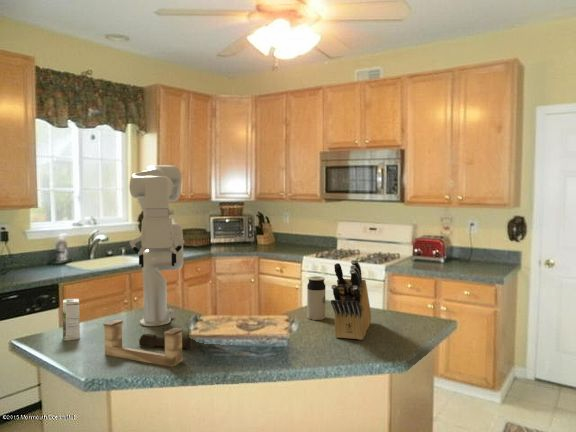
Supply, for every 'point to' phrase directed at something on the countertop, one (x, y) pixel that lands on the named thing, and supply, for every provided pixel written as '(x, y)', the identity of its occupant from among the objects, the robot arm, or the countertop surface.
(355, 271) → the knife block
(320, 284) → the travel mug
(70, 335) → the syrup box
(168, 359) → the wooden u-shaped stand
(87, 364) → the countertop surface
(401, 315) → the countertop surface
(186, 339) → the hand tool
